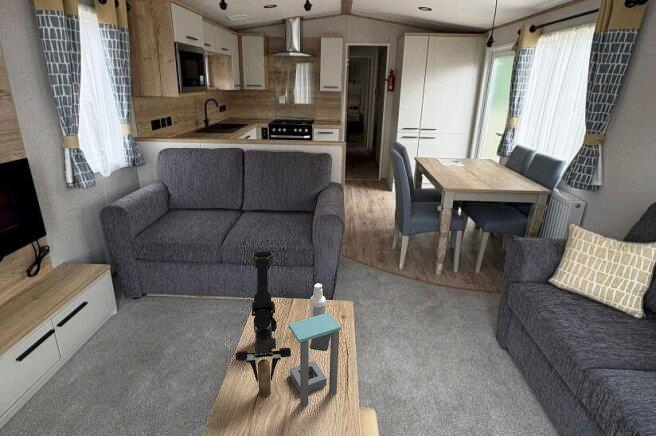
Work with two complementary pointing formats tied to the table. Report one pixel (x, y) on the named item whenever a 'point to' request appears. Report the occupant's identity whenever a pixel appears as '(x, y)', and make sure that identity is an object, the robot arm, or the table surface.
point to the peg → (264, 378)
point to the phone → (320, 342)
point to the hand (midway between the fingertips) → (264, 381)
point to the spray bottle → (317, 301)
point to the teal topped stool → (303, 333)
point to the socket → (313, 383)
